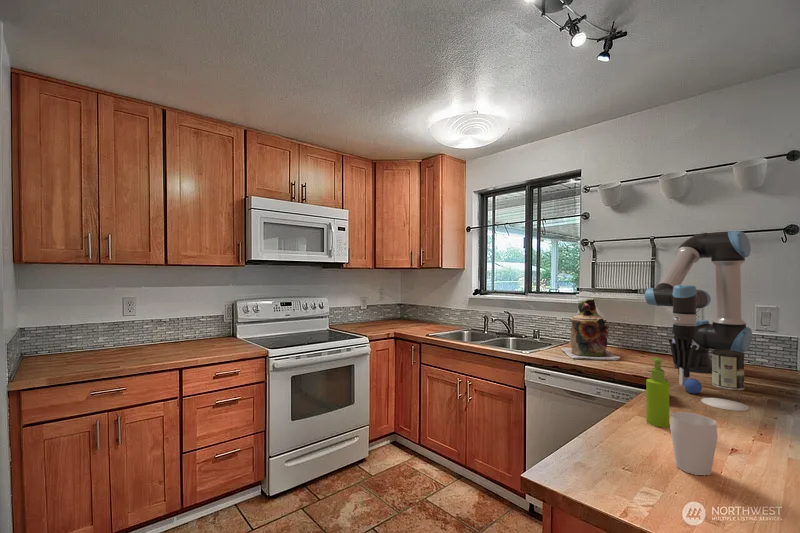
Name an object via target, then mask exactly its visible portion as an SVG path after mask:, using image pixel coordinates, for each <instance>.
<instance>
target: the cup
mask: <svg viewBox="0 0 800 533" xmlns="http://www.w3.org/2000/svg"><path fill="white" fill-rule="evenodd" d="M717 427H718V426H717V421H715V420H714V419H713V418H711V417H708V416H706V415H701V414H698V413H693V412H688V411H687V412H686V411H677V412H676V411H675V412H672V413H671V414H670V422H669V428H670V435H671V440H672V448H673V453H674V459H675V460H674V461H675V465H677V466H676V467H677V468H678V467H679V468H680V471H682V470H683V471H682V472H684V471H685V472H684V473H687V472H688V473H687V474H689V473H691V474H690V475H693V474H694V476H697V475H704V476H703V477H706V476H705V475H708V476H710V475H712V469H713V464H714V458H715V453H716V449H717V448H716V447H717V441H718V428H717ZM679 468H678V469H679Z"/></svg>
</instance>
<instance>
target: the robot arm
mask: <svg viewBox="0 0 800 533" xmlns="http://www.w3.org/2000/svg"><path fill="white" fill-rule="evenodd" d="M750 255H751V243H750V240H749V238H748V235H747V234H746V233H745V232H744V231H741V230H729V231H728V230H727V231H717V232H714V231H713V232H700V233H698V234H697V233H696V234H695V235H693V236H690V237H689V238H688V239H686V240H684V241H683V242H682V243H681V244H680V245H679V247H678V248H677V250H675V257H674V259H672V262H671V263H670V265H669V266H668V268H667V269H666V271H665V273H664V274H663V276H662V277H661V278H660V280H659V282H658V284H657V285H656V287H651V288H650V287H649V288H647V289H646V290H645V293H644V300H645V302H646V304H647V305H650V306H656V307H659V306H660V307H672V323H673V324H672V334H674V335H673V338H672V339H669V340H668V343H669V345H670V350H671V356H672V361H673V364H674V367H675V369H678V370H677V371H678V373H677V374H678V376H679V378H678V379H679V381H678V384H679V385H680V386H684V383H685V381H686V380H688V379H690V378H691V377H690V376H691V372H696V373H697V372H698V373H712V357H711V356H710V350H730V351H737V352H742V353H744V354H745V353H746V352H747V351H748V350H749V348H750V346H751V343H752V339H753V330H752V328H750V327H748V326H747V322H746V321H744V319H742V287H741V284H742V283H741V282H742V281H741V277H742V276H741V266H742V264H743V263H745V262H746V258H749V257H750ZM704 258H706V259H711V263H713V264H714V266H715V295H716V296H715V297H716V298H715V299H716V317H715V318H714V319H713V320H712V323H710V321H709V320H708V319H707V320H706V319H697V309H703V308H705V307H708V306H709V305H710V303H711V301H712V300H711V296H710V294H709V293H708V291H705V290H702V289H697V287H696V285H691V284H689V285H688V284H683V282H684V281H685V278H686V276H687V275H688V274H689V272H690V271H691V269H692V267H693V266H694V264H695V263H697V262H699V261H700V259H704ZM682 284H683V285H682Z"/></svg>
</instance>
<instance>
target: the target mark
mask: <svg viewBox="0 0 800 533" xmlns="http://www.w3.org/2000/svg"><path fill="white" fill-rule="evenodd" d="M700 402H702V403H703V404H705V405H706V406H709V407H712V408H715V409H721V410H727V411H731V412H732V411H734V412H735V411H736V412H745V411H746V412H747V411H749V410H750V407H749V405H746V404H744V403H742V402H739V401H735V400H731V399H725V398H717V397H703V398H701V401H700Z"/></svg>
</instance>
